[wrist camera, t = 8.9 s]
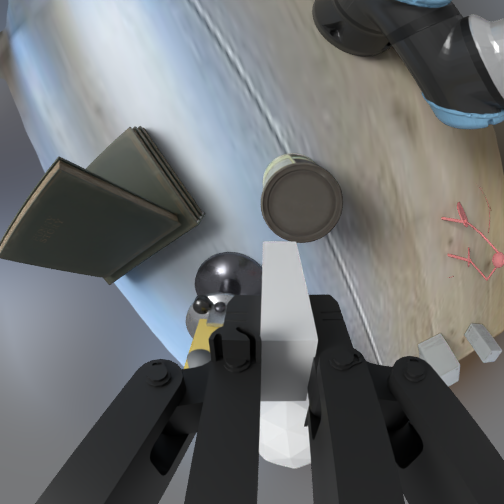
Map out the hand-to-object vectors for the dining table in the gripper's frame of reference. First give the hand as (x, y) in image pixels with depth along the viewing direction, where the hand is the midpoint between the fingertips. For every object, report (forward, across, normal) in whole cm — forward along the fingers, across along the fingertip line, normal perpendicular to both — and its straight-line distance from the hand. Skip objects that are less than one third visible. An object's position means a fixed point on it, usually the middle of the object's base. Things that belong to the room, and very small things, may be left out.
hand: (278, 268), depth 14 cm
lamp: (+37, +12, -53) cm, 66 cm away
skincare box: (+37, +59, -39) cm, 80 cm away
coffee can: (+37, +4, -3) cm, 37 cm away
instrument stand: (+36, -7, -23) cm, 44 cm away
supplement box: (+37, +44, -43) cm, 72 cm away
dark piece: (+37, -26, -6) cm, 46 cm away
